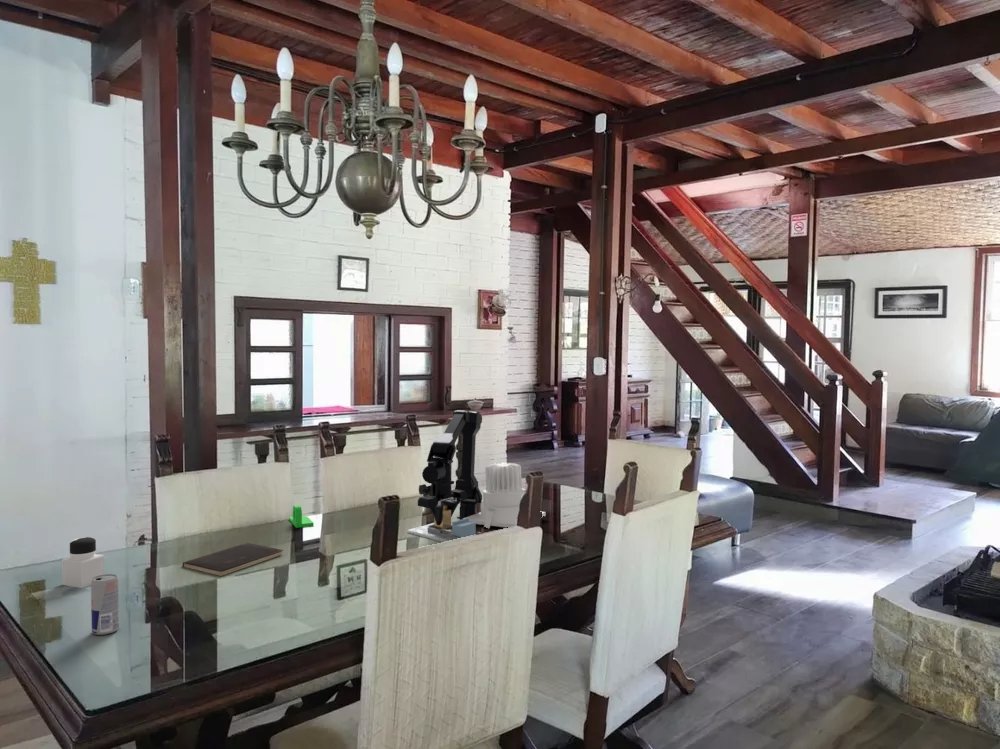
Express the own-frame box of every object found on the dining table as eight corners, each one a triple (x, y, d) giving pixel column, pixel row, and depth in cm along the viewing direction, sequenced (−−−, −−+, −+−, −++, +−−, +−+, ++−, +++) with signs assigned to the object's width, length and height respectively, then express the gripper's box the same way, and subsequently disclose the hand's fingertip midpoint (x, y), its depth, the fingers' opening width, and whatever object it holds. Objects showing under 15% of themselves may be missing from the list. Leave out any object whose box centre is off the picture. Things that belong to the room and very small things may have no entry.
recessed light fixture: (513, 533, 246) (511, 470, 246) (460, 526, 258) (458, 467, 257) (547, 518, 268) (546, 460, 267) (497, 512, 279) (495, 458, 279)
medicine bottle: (105, 580, 196) (104, 536, 195) (81, 589, 189) (81, 543, 188) (84, 577, 198) (84, 534, 197) (61, 586, 191) (60, 541, 191)
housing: (466, 532, 243) (466, 518, 243) (475, 534, 241) (475, 520, 240) (452, 536, 238) (452, 522, 237) (461, 538, 235) (461, 524, 235)
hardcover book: (283, 557, 220) (282, 549, 220) (221, 578, 200) (221, 570, 200) (245, 549, 228) (245, 542, 227) (182, 569, 207) (182, 561, 207)
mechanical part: (313, 528, 253) (313, 505, 253) (296, 530, 250) (295, 507, 250) (305, 520, 264) (305, 498, 263) (288, 522, 261) (288, 500, 260)
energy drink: (98, 626, 165) (97, 574, 164) (123, 625, 165) (122, 573, 165) (87, 635, 159) (86, 581, 159) (112, 635, 160) (111, 581, 159)
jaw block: (442, 525, 248) (442, 504, 248) (451, 527, 246) (451, 506, 245) (434, 527, 245) (434, 506, 245) (442, 529, 243) (442, 508, 242)
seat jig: (436, 525, 257) (436, 517, 257) (483, 536, 243) (483, 527, 243) (407, 533, 246) (407, 524, 246) (454, 545, 232) (454, 536, 232)
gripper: (444, 471, 257) (444, 514, 258) (406, 478, 242) (406, 525, 243) (468, 475, 250) (468, 520, 250) (429, 483, 235) (429, 530, 236)
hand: (442, 523), depth 245 cm, fingers open, 4 cm apart
